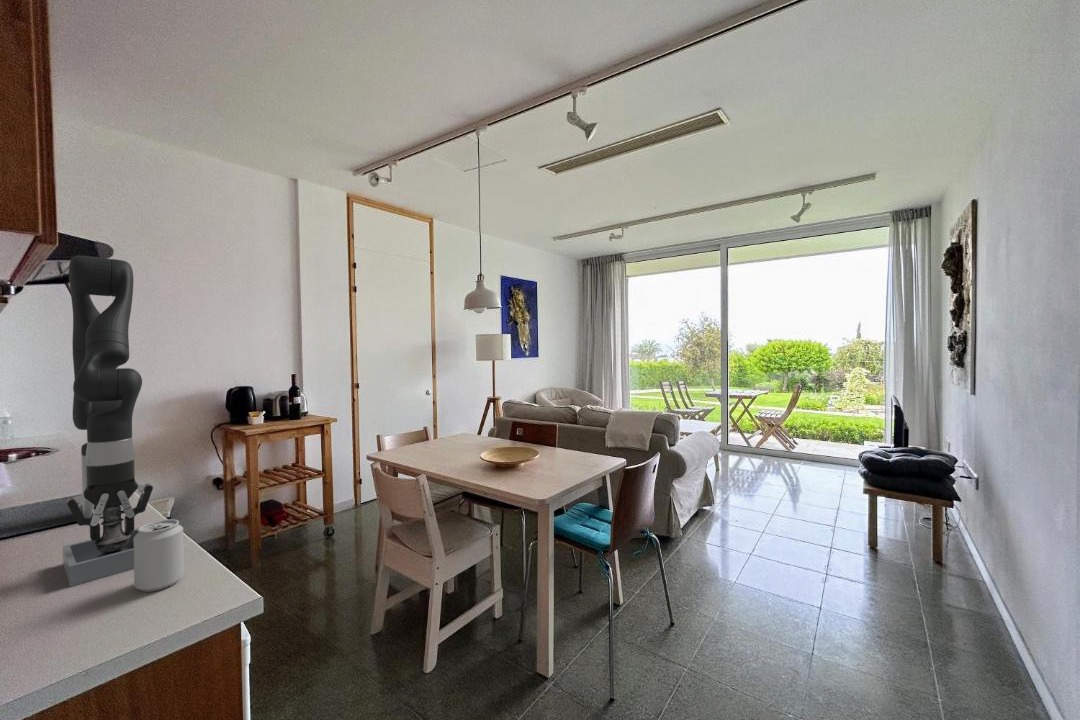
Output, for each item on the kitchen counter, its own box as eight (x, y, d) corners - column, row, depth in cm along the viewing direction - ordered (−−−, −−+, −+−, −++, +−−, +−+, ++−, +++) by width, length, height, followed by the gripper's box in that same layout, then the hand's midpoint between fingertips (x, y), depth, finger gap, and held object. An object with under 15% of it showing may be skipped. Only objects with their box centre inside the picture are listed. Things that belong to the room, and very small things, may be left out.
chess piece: (108, 562, 93) (106, 506, 92) (86, 559, 94) (85, 504, 94) (138, 549, 99) (137, 497, 98) (118, 547, 100) (116, 495, 99)
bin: (63, 564, 95) (62, 546, 95) (148, 542, 106) (148, 525, 106) (69, 586, 86) (69, 566, 86) (162, 560, 97) (161, 542, 97)
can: (142, 598, 83) (141, 535, 82) (128, 586, 87) (127, 526, 86) (190, 580, 89) (189, 522, 89) (175, 570, 93) (174, 514, 93)
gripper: (150, 451, 104) (151, 523, 104) (61, 463, 93) (63, 543, 93) (157, 456, 99) (159, 531, 99) (64, 470, 88) (66, 554, 88)
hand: (112, 537), depth 96 cm, fingers closed on chess piece, 4 cm apart
